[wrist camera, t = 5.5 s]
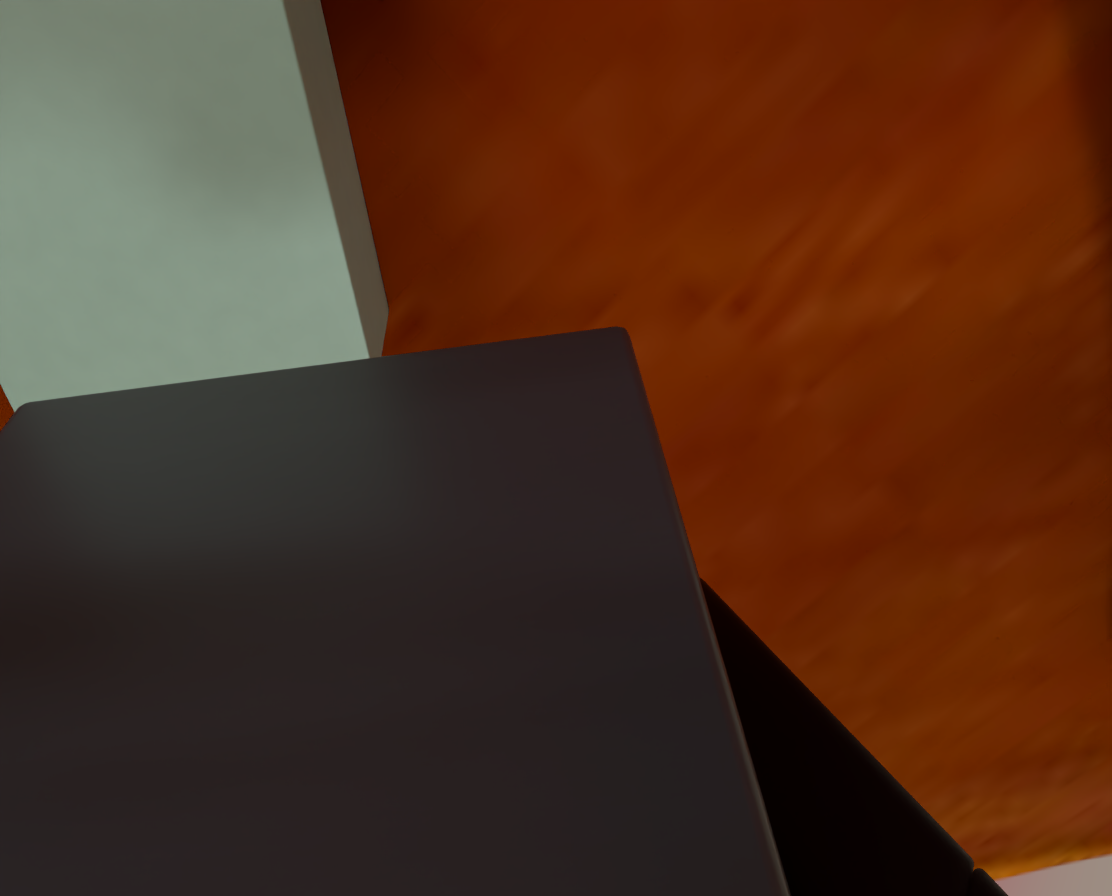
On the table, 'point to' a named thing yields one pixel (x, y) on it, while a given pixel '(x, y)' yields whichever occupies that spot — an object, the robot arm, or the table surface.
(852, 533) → the table surface
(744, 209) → the table surface
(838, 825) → the robot arm
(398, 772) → the block
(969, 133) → the table surface
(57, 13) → the pocket book
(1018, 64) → the table surface
